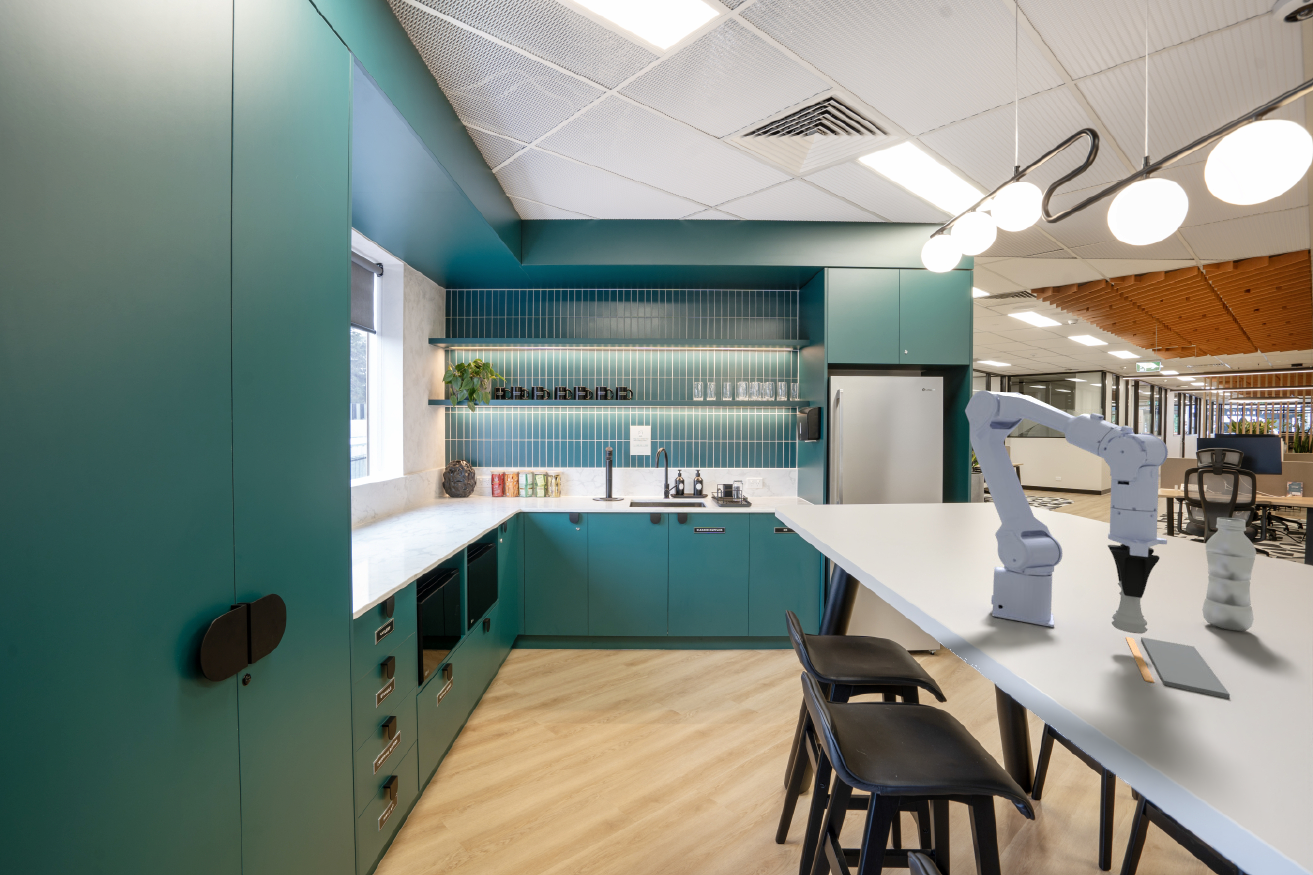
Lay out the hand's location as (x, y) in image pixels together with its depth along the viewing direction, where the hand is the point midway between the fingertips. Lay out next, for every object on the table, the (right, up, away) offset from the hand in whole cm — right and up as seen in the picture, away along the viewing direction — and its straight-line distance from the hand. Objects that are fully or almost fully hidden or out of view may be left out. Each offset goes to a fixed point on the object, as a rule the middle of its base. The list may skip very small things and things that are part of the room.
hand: (1131, 593), depth 88 cm
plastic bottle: (+28, -10, +12) cm, 32 cm away
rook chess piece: (0, -6, 0) cm, 6 cm away
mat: (+3, -10, -5) cm, 11 cm away
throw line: (-1, -10, -2) cm, 10 cm away
